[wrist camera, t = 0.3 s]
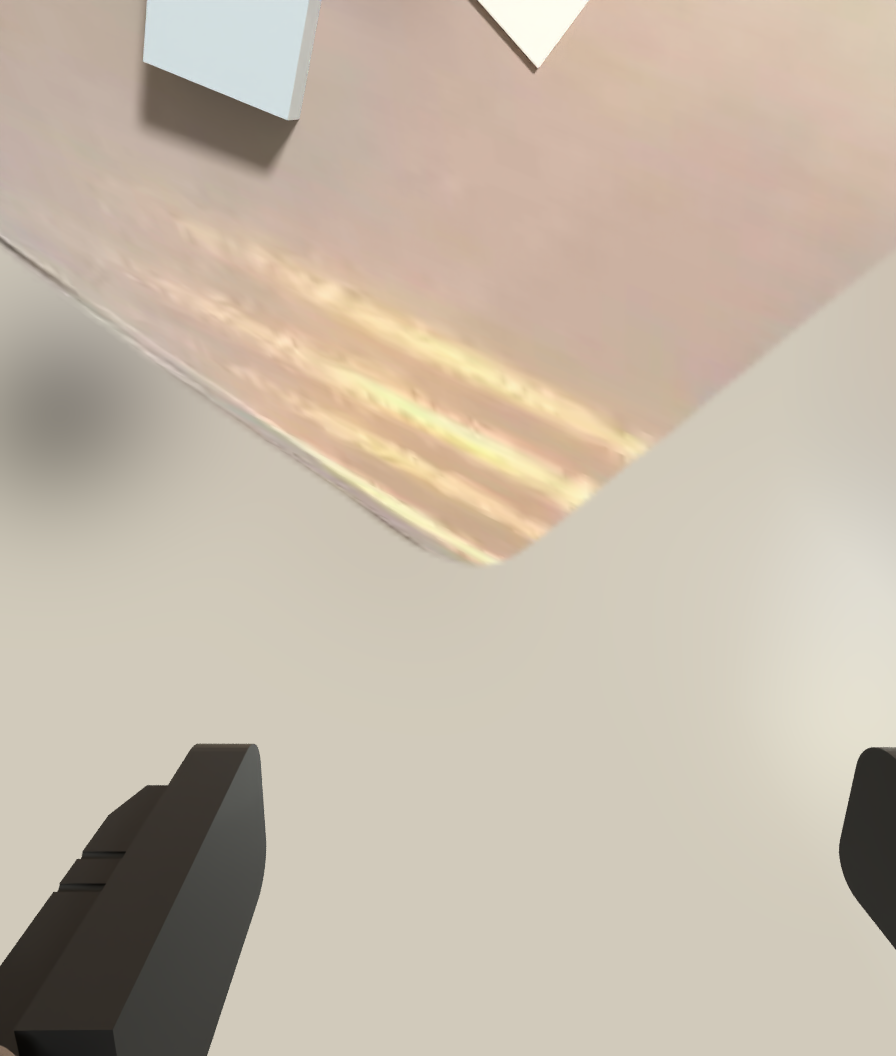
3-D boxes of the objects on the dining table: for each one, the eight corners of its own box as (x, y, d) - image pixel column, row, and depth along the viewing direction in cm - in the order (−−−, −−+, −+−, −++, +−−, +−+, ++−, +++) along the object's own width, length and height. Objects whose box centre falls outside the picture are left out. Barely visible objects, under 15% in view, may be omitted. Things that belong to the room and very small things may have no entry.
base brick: (169, 65, 28) (142, 61, 25) (184, -111, 25) (156, -135, 22) (300, 119, 29) (287, 120, 27) (330, -42, 26) (319, -58, 24)
